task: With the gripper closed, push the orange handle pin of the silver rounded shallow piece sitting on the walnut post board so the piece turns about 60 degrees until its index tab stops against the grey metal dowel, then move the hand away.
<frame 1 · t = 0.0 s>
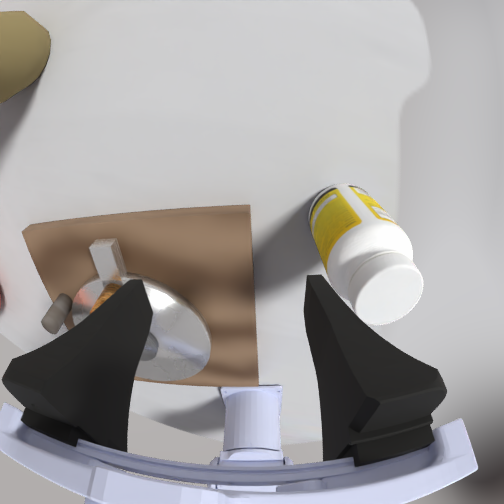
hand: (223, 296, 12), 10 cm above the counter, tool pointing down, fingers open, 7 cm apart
post board: (146, 313, 27), on the counter
supplement bottle: (340, 213, 21), on the counter
silver rounded shallow piece: (128, 336, 22), point 4 cm above the counter, hinge at 0.0°
squeeze bottle: (30, 56, 13), on the counter
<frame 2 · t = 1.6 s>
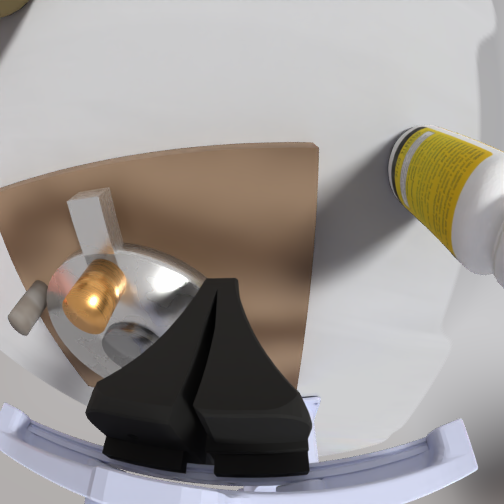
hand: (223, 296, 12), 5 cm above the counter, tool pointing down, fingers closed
post board: (150, 309, 19), on the counter
supplement bottle: (421, 166, 14), on the counter
silver rounded shallow piece: (124, 340, 15), point 5 cm above the counter, hinge at 0.0°
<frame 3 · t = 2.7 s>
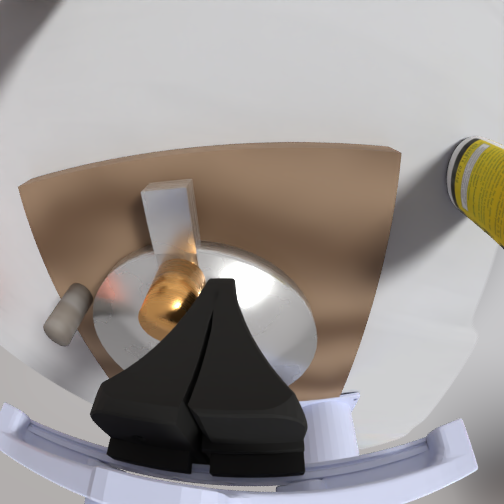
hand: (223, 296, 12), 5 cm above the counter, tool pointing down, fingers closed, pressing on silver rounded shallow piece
post board: (206, 311, 19), on the counter
supplement bottle: (470, 173, 14), on the counter
silver rounded shallow piece: (192, 347, 14), point 4 cm above the counter, hinge at 0.0°, touching gripper
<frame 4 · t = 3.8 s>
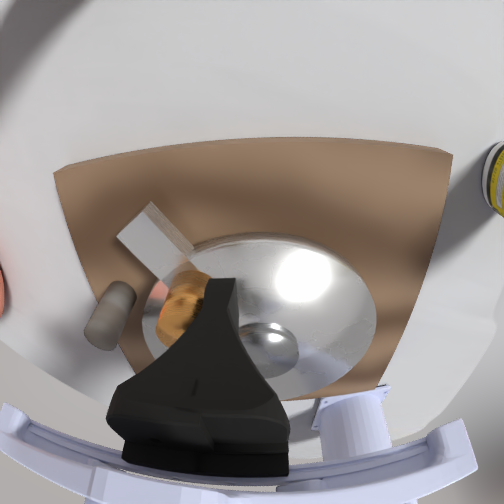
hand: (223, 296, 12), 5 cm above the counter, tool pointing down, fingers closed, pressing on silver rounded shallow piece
post board: (259, 307, 19), on the counter
supplement bottle: (499, 174, 13), on the counter
silver rounded shallow piece: (244, 347, 14), point 5 cm above the counter, hinge at 33.8°, touching gripper
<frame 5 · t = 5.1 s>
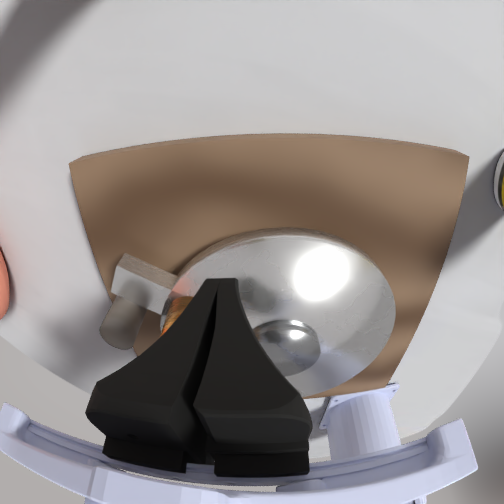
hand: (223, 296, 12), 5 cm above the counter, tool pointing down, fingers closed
post board: (277, 304, 19), on the counter
silver rounded shallow piece: (258, 350, 14), point 5 cm above the counter, hinge at 59.9°
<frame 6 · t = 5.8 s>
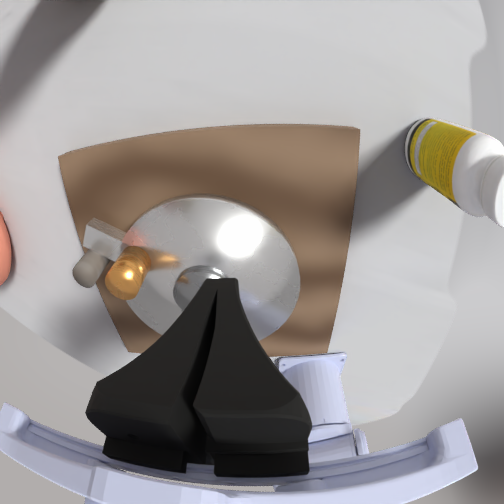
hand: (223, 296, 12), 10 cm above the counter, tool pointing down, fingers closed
post board: (210, 262, 23), on the counter
supplement bottle: (428, 148, 18), on the counter
silver rounded shallow piece: (183, 290, 19), point 4 cm above the counter, hinge at 59.8°
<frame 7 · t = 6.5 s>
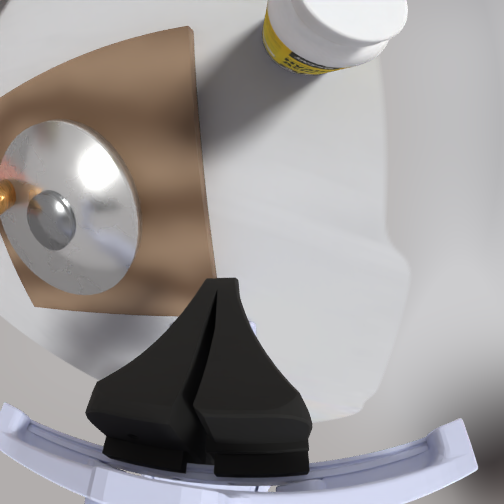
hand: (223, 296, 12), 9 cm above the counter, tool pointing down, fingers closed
post board: (77, 199, 19), on the counter
supplement bottle: (304, 39, 14), on the counter
silver rounded shallow piece: (32, 216, 15), point 4 cm above the counter, hinge at 59.8°
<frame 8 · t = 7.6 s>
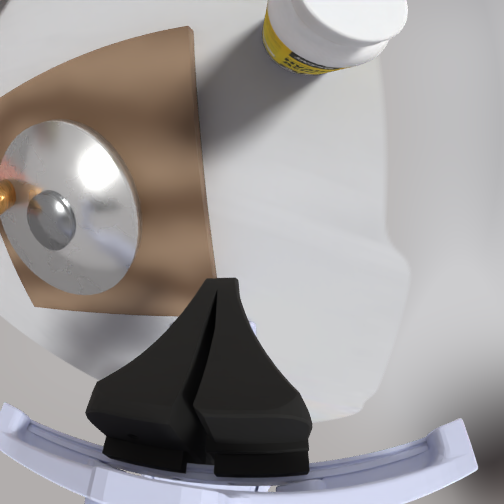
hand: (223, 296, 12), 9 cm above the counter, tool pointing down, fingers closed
post board: (77, 199, 19), on the counter
supplement bottle: (304, 39, 14), on the counter
silver rounded shallow piece: (32, 216, 15), point 4 cm above the counter, hinge at 59.8°
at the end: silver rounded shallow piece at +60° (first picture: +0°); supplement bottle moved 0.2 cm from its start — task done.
